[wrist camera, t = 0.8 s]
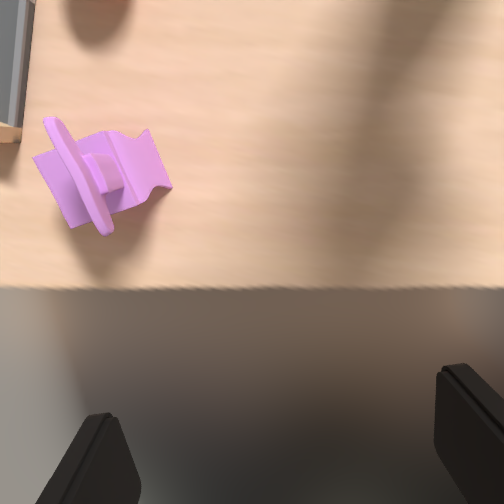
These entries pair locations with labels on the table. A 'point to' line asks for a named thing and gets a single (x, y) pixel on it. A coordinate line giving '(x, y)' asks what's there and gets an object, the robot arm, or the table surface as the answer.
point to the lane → (14, 65)
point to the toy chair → (99, 173)
